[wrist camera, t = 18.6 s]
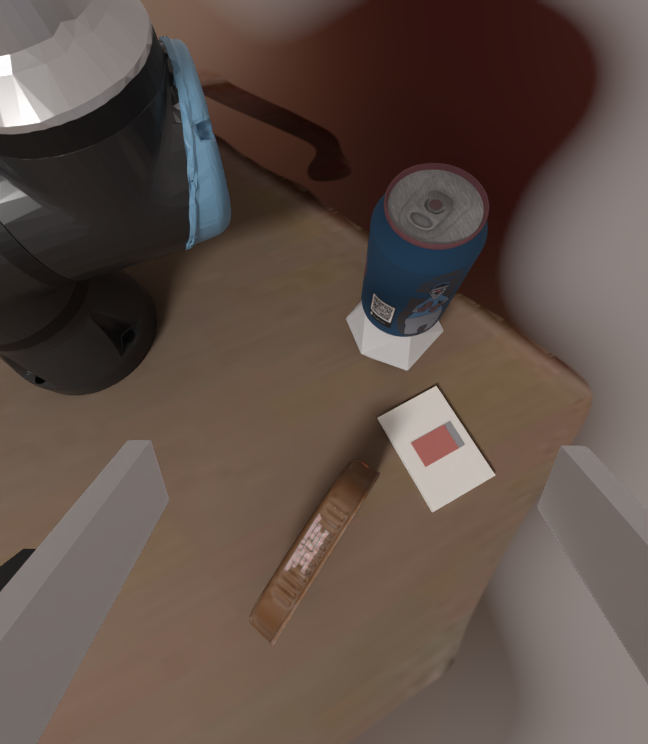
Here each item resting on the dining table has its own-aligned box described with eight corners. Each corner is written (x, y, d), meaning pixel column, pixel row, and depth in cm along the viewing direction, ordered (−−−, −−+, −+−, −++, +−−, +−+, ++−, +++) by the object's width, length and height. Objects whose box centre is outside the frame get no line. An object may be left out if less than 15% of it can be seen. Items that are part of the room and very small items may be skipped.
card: (377, 418, 35) (377, 417, 35) (435, 386, 36) (436, 385, 36) (431, 511, 32) (432, 512, 32) (493, 475, 33) (495, 475, 33)
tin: (285, 623, 30) (266, 675, 22) (257, 599, 31) (229, 641, 23) (378, 476, 34) (390, 474, 26) (350, 457, 34) (355, 449, 26)
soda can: (393, 259, 32) (424, 135, 21) (455, 302, 30) (526, 195, 19) (344, 310, 31) (347, 208, 19) (406, 358, 29) (451, 279, 18)
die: (414, 299, 40) (370, 247, 33) (470, 334, 34) (431, 279, 27) (367, 353, 41) (316, 314, 35) (413, 396, 35) (362, 358, 29)
